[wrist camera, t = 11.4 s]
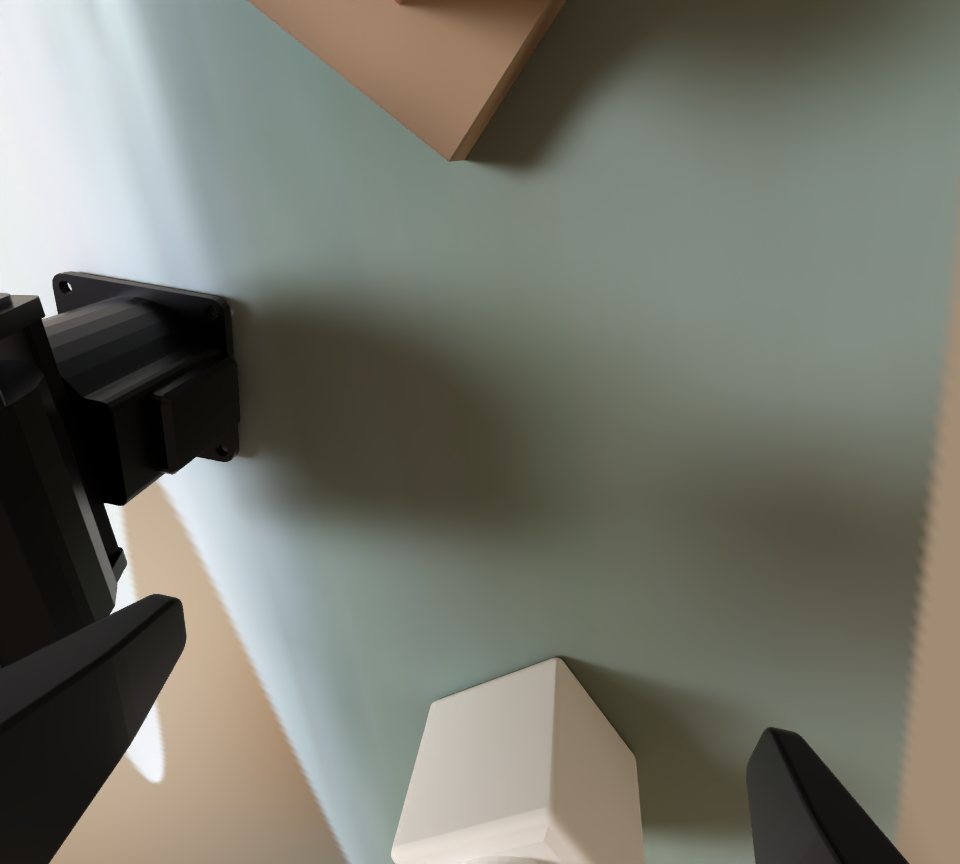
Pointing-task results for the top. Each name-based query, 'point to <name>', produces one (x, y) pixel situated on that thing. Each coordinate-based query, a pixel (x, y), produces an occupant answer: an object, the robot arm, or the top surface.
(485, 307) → the top surface
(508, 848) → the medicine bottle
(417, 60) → the walnut block
